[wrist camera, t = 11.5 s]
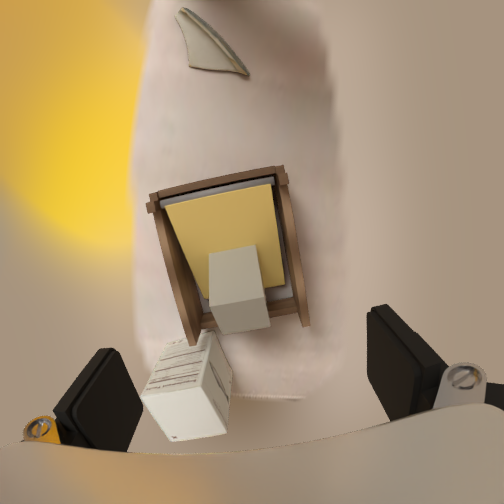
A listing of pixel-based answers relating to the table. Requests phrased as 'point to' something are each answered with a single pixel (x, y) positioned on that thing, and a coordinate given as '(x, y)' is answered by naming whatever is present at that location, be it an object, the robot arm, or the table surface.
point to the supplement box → (190, 389)
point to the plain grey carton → (237, 291)
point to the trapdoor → (228, 227)
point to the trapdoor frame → (183, 274)
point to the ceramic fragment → (207, 45)
